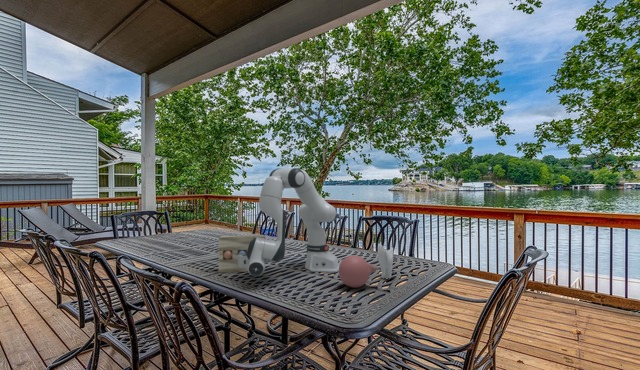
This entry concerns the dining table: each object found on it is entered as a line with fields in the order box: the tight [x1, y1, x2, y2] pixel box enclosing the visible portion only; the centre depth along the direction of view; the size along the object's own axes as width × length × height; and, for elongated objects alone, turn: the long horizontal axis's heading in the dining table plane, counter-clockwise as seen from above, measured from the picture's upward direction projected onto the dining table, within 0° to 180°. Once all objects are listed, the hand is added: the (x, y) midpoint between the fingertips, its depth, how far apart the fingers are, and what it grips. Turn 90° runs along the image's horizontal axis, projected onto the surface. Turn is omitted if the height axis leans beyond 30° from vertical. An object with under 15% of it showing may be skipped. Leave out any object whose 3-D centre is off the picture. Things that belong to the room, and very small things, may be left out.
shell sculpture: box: [377, 244, 394, 280], centre depth 165 cm, size 8×8×18 cm
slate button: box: [238, 250, 246, 255], centre depth 174 cm, size 4×4×4 cm
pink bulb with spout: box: [338, 254, 380, 289], centre depth 150 cm, size 15×20×15 cm
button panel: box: [218, 234, 266, 274], centre depth 181 cm, size 13×26×20 cm, turn 101°
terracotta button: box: [224, 250, 232, 259], centre depth 174 cm, size 4×4×4 cm
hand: (256, 255), depth 174 cm, fingers closed
